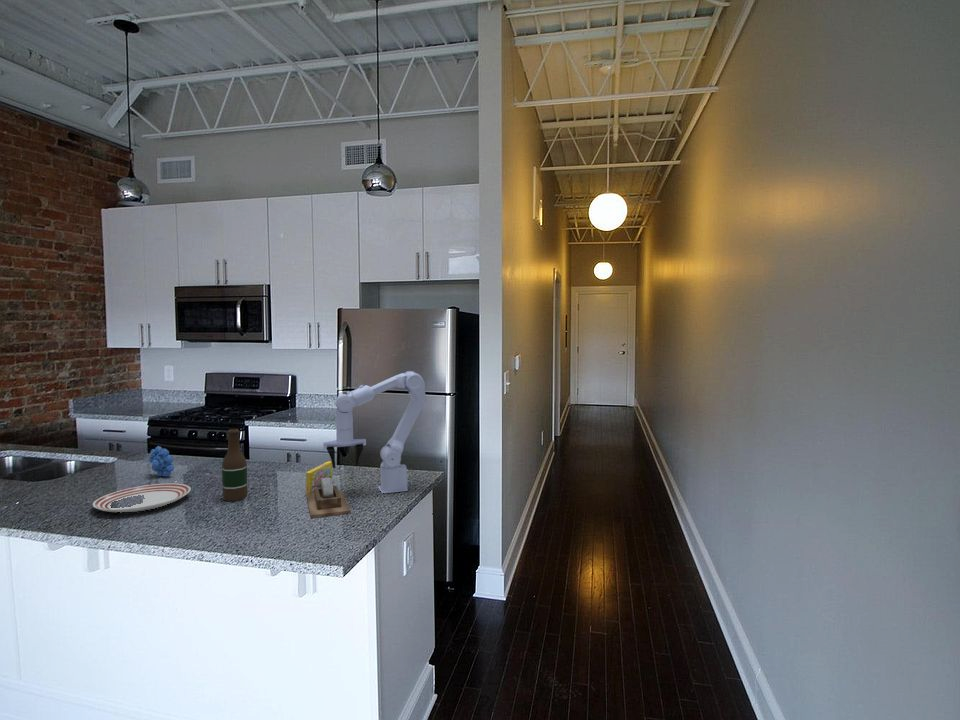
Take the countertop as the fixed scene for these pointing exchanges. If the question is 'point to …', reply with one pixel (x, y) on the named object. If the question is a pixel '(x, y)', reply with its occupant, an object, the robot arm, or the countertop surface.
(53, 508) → the countertop surface
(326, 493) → the grey rectangular block
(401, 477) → the robot arm
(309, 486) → the candy box
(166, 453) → the grapes
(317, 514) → the walnut well stand
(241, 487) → the beer bottle
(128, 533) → the countertop surface
